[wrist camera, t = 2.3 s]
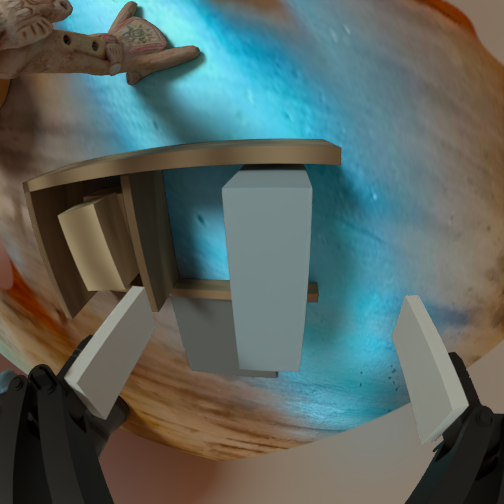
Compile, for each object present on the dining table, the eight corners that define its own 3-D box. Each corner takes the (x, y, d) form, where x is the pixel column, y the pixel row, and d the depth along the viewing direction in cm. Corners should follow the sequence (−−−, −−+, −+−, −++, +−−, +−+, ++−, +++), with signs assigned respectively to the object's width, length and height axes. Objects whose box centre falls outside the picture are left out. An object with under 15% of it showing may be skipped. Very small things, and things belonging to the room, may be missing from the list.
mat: (192, 368, 36) (191, 370, 36) (170, 288, 30) (169, 290, 30) (276, 375, 35) (276, 378, 35) (277, 294, 29) (277, 296, 28)
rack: (101, 280, 31) (66, 317, 24) (73, 163, 25) (22, 182, 17) (316, 290, 28) (322, 346, 21) (323, 139, 21) (341, 147, 14)
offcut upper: (105, 273, 26) (88, 290, 23) (79, 203, 23) (57, 215, 20) (141, 269, 26) (125, 289, 22) (115, 191, 22) (93, 204, 19)
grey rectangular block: (258, 276, 28) (239, 369, 17) (253, 156, 23) (221, 188, 12) (297, 277, 28) (299, 371, 17) (300, 155, 22) (312, 188, 12)
